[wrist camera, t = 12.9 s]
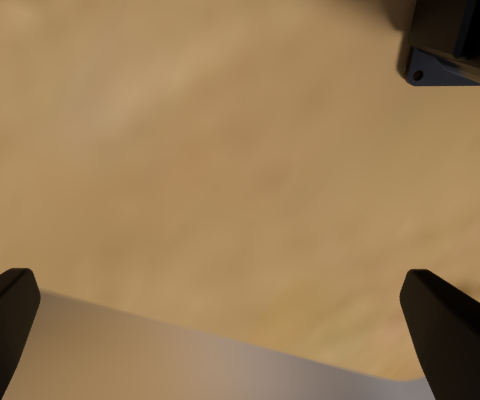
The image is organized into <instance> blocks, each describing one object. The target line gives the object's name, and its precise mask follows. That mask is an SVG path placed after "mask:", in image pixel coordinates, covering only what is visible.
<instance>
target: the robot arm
mask: <svg viewBox="0 0 480 400" xmlns="http://www.w3.org/2000/svg"><path fill="white" fill-rule="evenodd" d="M408 42H409V43H410V45H411V48H410V52H409V57H408V61H407V66H406V70H405V77H404V78H405V80H406V82H407V83H409V84H410V85H413V86H480V0H417V2H416V6H415V11H414V15H413V20H412V25H411V29H410V34H409V38H408ZM418 70H419V71H420V74H419V76H418V77H417V78H416V79H413V75H414V73H415V72H416V71H418ZM39 304H40V291H39V288H38V285H37V283H36V280H35V277H34V274H33V272H32V270H31V269H29V268H11V269H9V270H7V271H5V272H4V273H2V274H0V400H2V397H3V395H4V393H5V391H6V389H7V387H8V385H9V383H10V381H11V378H12V376H13V374H14V372H15V370H16V368H17V365H18V363H19V360H20V357H21V355H22V352H23V349H24V347H25V344H26V341H27V338H28V335H29V332H30V330H31V327H32V324H33V321H34V318H35V316H36V313H37V310H38V307H39ZM400 304H401V307H402V310H403V313H404V316H405V320H406V323H407V326H408V329H409V332H410V335H411V338H412V341H413V345H414V348H415V351H416V354H417V357H418V359H419V362H420V365H421V367H422V369H423V372H424V374H425V376H426V379H427V381H428V383H429V385H430V388H431V390H432V392H433V395H434V397H435V399H436V400H480V303H479V302H478V301H476V300H475V299H473V298H471V297H470V296H468V295H467V294H465V293H464V292H462V291H461V290H459V289H457V288H456V287H454V286H453V285H451V284H450V283H448V282H446V281H445V280H443V279H442V278H440V277H439V276H437V275H436V274H434V273H432V272H431V271H429V270H427V269H411V270H409V271H408V272H407V274H406V277H405V280H404V283H403V286H402V289H401V292H400Z"/></svg>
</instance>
